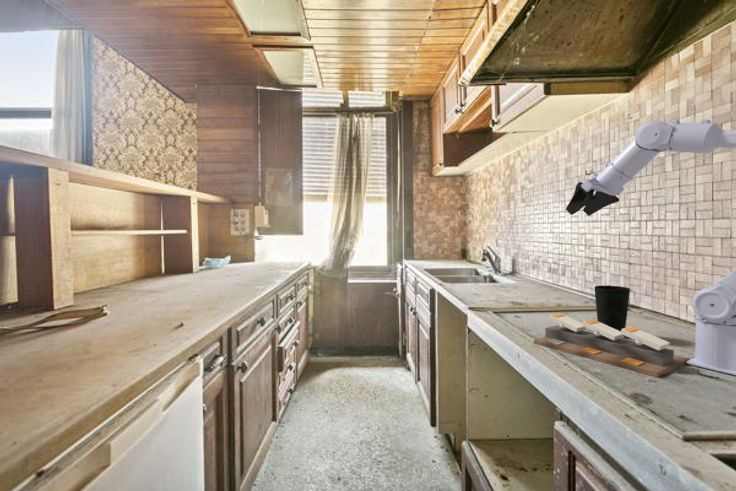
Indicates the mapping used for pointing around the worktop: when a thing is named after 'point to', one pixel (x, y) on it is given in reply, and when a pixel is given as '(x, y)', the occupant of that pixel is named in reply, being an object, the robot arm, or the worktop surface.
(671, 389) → the worktop surface
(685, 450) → the worktop surface
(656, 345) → the switch
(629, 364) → the switch board
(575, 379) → the worktop surface
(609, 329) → the switch
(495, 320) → the worktop surface
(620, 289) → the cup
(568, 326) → the switch
